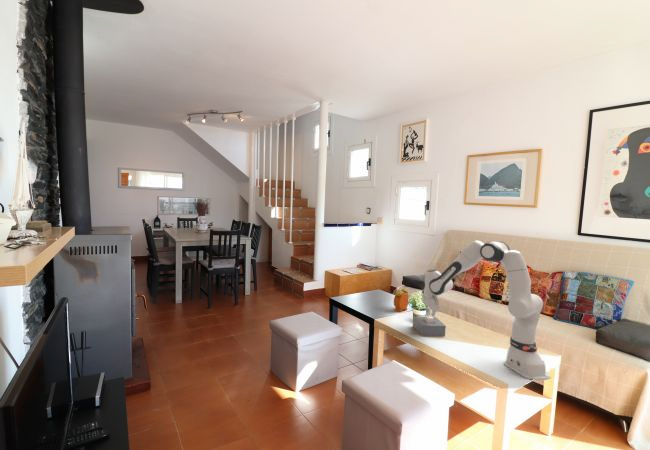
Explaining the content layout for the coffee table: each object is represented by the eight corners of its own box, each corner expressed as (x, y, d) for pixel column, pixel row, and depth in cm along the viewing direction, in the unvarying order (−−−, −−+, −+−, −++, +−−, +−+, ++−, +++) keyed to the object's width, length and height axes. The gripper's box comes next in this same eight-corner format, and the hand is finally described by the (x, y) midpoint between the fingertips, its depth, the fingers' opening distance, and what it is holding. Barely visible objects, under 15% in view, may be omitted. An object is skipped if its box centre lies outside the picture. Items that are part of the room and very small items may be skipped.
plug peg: (432, 332, 220) (433, 317, 219) (426, 332, 219) (427, 317, 218) (430, 330, 224) (431, 315, 223) (424, 330, 224) (425, 314, 223)
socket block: (445, 336, 214) (445, 325, 214) (421, 336, 213) (422, 325, 212) (434, 326, 230) (435, 316, 230) (412, 326, 229) (413, 316, 228)
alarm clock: (402, 307, 269) (403, 283, 267) (408, 309, 264) (410, 285, 262) (392, 311, 260) (394, 286, 258) (399, 313, 255) (400, 288, 253)
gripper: (442, 298, 209) (441, 319, 210) (429, 289, 230) (428, 308, 231) (432, 298, 209) (431, 319, 210) (420, 289, 229) (419, 308, 230)
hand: (430, 313), depth 220 cm, fingers open, 8 cm apart
